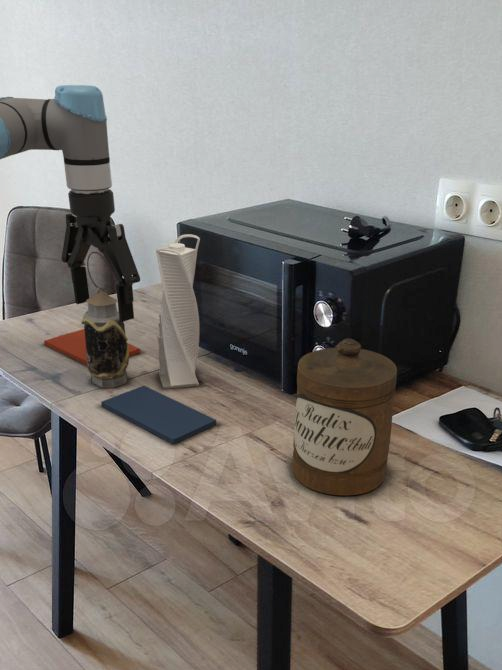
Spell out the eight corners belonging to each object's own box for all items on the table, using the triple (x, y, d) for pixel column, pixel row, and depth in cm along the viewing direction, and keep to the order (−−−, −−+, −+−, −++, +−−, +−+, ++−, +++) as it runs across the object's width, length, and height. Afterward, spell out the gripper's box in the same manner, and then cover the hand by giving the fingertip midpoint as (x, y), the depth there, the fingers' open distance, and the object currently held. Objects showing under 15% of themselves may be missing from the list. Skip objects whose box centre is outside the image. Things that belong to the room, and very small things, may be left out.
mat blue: (101, 406, 129) (101, 401, 129) (144, 390, 135) (144, 385, 135) (173, 444, 118) (173, 439, 117) (216, 424, 124) (216, 419, 124)
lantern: (80, 379, 139) (63, 251, 125) (114, 368, 144) (101, 243, 130) (106, 393, 134) (92, 261, 120) (140, 381, 139) (130, 252, 125)
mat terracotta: (44, 344, 153) (43, 340, 153) (90, 331, 161) (90, 326, 160) (93, 368, 143) (93, 364, 143) (140, 352, 151) (139, 348, 150)
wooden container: (275, 478, 110) (280, 345, 98) (318, 439, 121) (327, 315, 109) (362, 507, 104) (378, 369, 92) (399, 463, 114) (418, 335, 103)
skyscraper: (199, 370, 144) (195, 229, 128) (207, 387, 137) (203, 240, 122) (158, 374, 142) (148, 231, 126) (164, 391, 135) (154, 242, 120)
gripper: (154, 197, 115) (163, 322, 126) (67, 177, 129) (82, 291, 140) (117, 203, 110) (129, 333, 122) (30, 182, 124) (49, 299, 136)
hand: (104, 310), depth 131 cm, fingers open, 13 cm apart
